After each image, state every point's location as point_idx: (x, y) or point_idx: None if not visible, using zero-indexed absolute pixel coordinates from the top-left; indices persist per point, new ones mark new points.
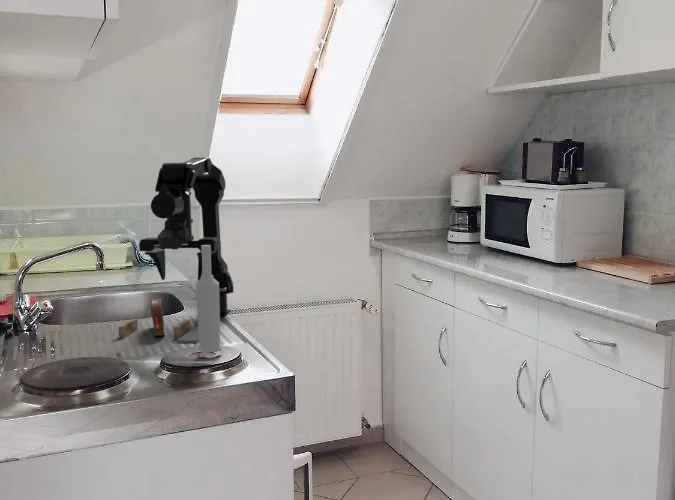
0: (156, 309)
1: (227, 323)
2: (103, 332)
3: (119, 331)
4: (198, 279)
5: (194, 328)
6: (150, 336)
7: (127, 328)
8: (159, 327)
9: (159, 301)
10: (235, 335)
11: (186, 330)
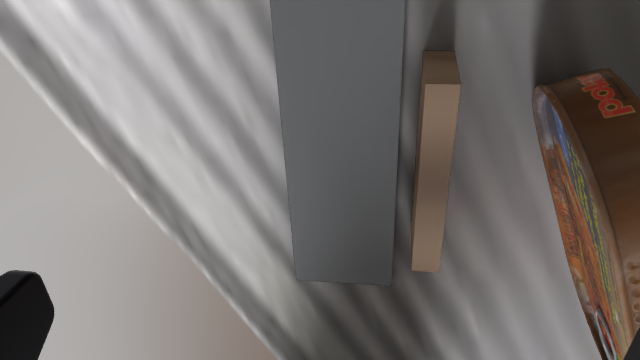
0: (635, 184)
1: (274, 331)
2: None
3: None
4: (30, 274)
5: (386, 231)
6: None
7: None
8: (570, 81)
9: None
10: (131, 138)
11: (414, 185)
